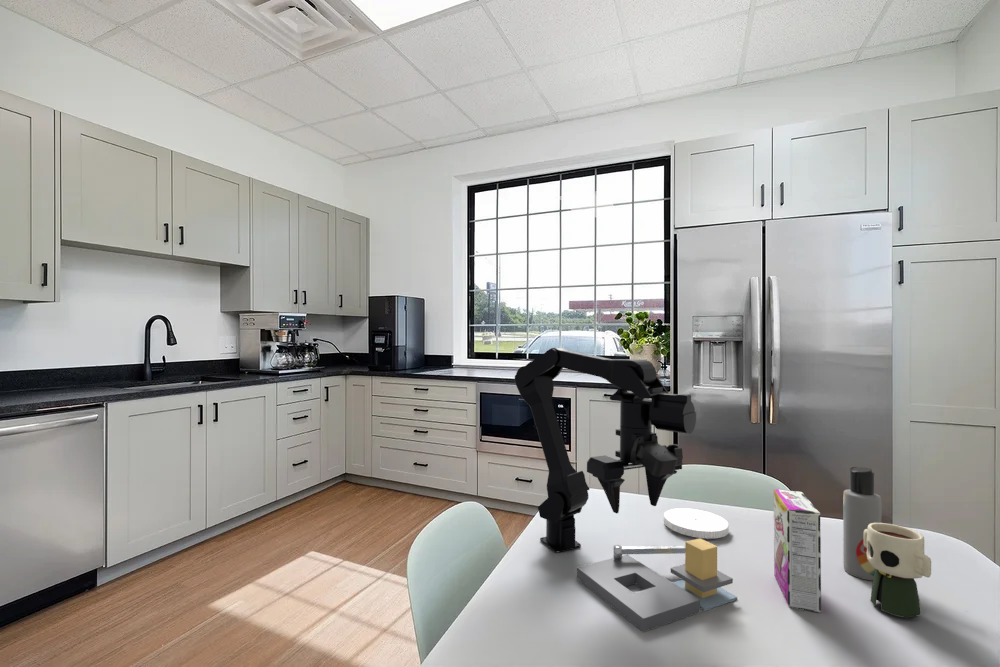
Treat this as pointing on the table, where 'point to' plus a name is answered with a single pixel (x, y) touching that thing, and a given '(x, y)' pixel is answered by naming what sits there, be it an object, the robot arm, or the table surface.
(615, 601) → the socket plate
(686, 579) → the plug
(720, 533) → the plastic lid
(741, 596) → the table surface
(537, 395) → the robot arm
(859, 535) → the lotion bottle
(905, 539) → the character mug
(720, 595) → the mat
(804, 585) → the candy bar box
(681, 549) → the metal lever bar
